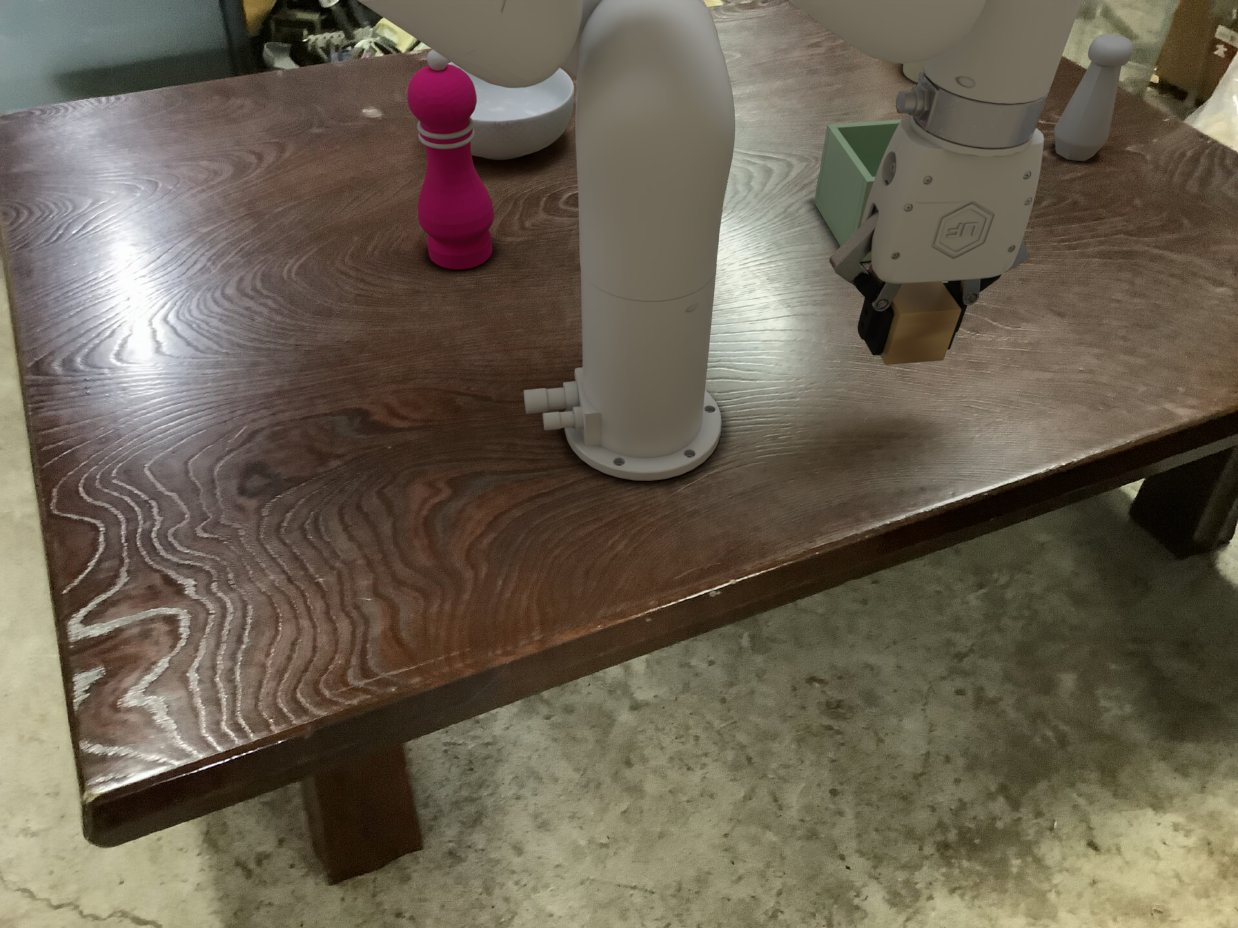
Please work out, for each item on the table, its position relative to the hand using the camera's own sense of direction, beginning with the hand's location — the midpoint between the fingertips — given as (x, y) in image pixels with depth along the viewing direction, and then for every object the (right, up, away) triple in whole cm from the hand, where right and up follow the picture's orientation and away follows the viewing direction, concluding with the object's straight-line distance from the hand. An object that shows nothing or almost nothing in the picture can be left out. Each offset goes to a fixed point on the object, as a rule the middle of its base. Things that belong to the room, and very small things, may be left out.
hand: (904, 339), depth 73 cm
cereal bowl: (-35, +27, +40) cm, 60 cm away
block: (0, 0, 0) cm, 0 cm away
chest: (+8, +15, +28) cm, 33 cm away
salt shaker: (+31, +26, +40) cm, 57 cm away
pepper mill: (-37, +11, +24) cm, 45 cm away
